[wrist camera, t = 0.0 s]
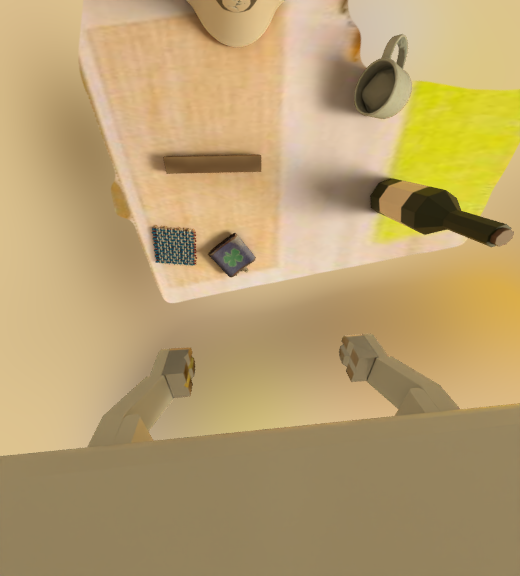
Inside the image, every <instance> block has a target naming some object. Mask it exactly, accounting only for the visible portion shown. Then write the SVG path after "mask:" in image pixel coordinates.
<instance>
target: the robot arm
mask: <svg viewBox="0 0 520 576" xmlns="http://www.w3.org/2000/svg"><path fill="white" fill-rule="evenodd" d="M186 1H187V2H189V3H190V4H191V6H192V7H193V9H194V10H195V12H196V14H197V16H198V18H199V20H200V21H201V23H202V24H203V26H204V27H205V29H206V30H207V31H208V32H209V33H210V34H211V35H212V36H213V37H214V38H215V39H216V40H218V41H219V42H221V43H223V44H225V45H227V46H231V47H244V46H247V45H250V44H252V43H253V42H255V41H256V40H257V39H259V38H260V37H261V36H262V35H263V33H264V32H265V31H266V29H267V28H268V26H269V24H270V22H271V20H272V18H273V16H274V14H275V12H276V10H277V8H278V7H279V6H280V5H281V4H282V3H283V2H284V1H285V0H186ZM342 343H343V345H342V346H340V349H339V356H340V359H341V361H342V364H343V365H345V366H346V367H347V369H346V372H347V374H348V376H349V378H350V380H351V382H356V381H367V382H368V383H369V384H370V385H371V386H373V387H374V388H375V389H376V390H377V391H378V392H379V393H380V394H382V395H383V396H384V397H385V398H386V399H387V400H389V401H390V402H391V403H392V404H393V405H394V406H395V407H397V408H398V411H397V413H396V415H395V416H392V417H381V418H371V419H362V420H352V421H342V422H333V423H322V424H313V425H303V426H294V427H284V428H274V429H265V430H255V431H245V432H235V433H226V434H215V435H205V436H197V437H187V438H177V439H167V440H157V441H153V439H152V437H151V435H150V434H149V430H150V429H151V428H152V426H153V425H154V424H155V423H156V421H157V420H158V419H159V417H160V416H161V414H162V413H163V412H164V411H165V409H166V408H167V407H168V406H169V404H170V403H171V402H172V400H173V398H179V397H188V396H191V391H192V386H193V383H192V378H193V377H194V374H195V360H194V358H193V357H192V349H191V348H171V349H161V350H160V351H159V353H158V355H157V358H156V360H155V363H154V366H153V368H152V371H151V374H150V376H149V377H146V378H145V379H143V380H142V381H141V382H140V383H139V384H138V385H137V386H136V387H135V388H133V389H132V390H131V391H130V392H129V393H128V394H127V395H126V396H125V397H124V398H122V399H121V400H120V401H119V402H118V403H117V404H116V405H115V406H114V407H112V408H111V409H110V410H109V411H108V412H107V413H106V414H105V415H104V416H103V417H102V419H101V421H100V423H99V425H98V427H97V429H96V431H95V433H94V435H93V437H92V439H91V441H90V443H89V445H88V447H87V448H78V449H68V450H58V451H48V452H38V453H28V454H18V455H8V456H0V576H520V403H518V404H509V405H498V406H489V407H479V408H470V409H460V408H459V407H458V406H457V405H456V404H455V402H454V401H453V400H452V399H451V398H450V396H449V395H448V394H447V393H446V392H445V391H444V390H443V388H442V387H441V386H440V385H439V384H437V383H435V382H434V381H432V380H430V379H429V378H427V377H425V376H424V375H422V374H420V373H418V372H417V371H415V370H414V369H412V368H410V367H408V366H407V365H405V364H403V363H402V362H400V361H398V360H397V359H395V358H393V357H389V356H388V355H387V353H386V352H385V351H384V349H383V348H382V346H381V345H380V344H379V342H378V341H377V339H376V338H375V337H374V335H372V334H362V335H361V334H360V335H349V336H344V337H343V338H342Z"/></svg>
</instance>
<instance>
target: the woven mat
mask: <svg viewBox="0 0 520 576" xmlns="http://www.w3.org/2000/svg"><path fill="white" fill-rule="evenodd" d="M152 230H155V231H153V232H152V233H153V236H156V237H154V238H153V240H154V242H155V244H153V245H154V246H155V250H154V251H156V252H155V254H156V255H155V257H156V260H157V261H156V263H163V264H164V263H165V264H166V263H167V264H168V263H169V265H170V263H171V264H172V263H173V264H174V265H175V264H177V265H178V264H180V266H181V265H183V264H184V265H186V266H187V265H188V266H189V265H191V266H193V265H195V264H196V263H195V262H196V260H195V258H196V259H197V257H195V256H196V255H195V253H196V252H195V251H196V249H195V248H196V246H195V245H196V244H195V242H196V240H195V239H196V238H195V236H196V235H195V233H196V232H195V230H194V229H193V231H192V230H190V229H189V228H188V229H187V230H186V229H185V228H183V229H182V230H181V228H178V230H177V229H176V228H173V229H172V228H170V229H168V228H167V226H165V227H164V228H163V227H162V226H161V228H158V227H157V225H155V228H152ZM163 231H164V232H163ZM163 234H164V235H163ZM165 237H166V238H165ZM173 238H174V239H173ZM183 239H184V240H183ZM186 239H187V240H186ZM165 240H166V241H165ZM186 242H187V243H186ZM186 245H187V246H186ZM156 248H157V249H156ZM192 251H193V252H192ZM167 260H168V261H167Z"/></svg>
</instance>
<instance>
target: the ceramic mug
mask: <svg viewBox="0 0 520 576" xmlns="http://www.w3.org/2000/svg"><path fill="white" fill-rule="evenodd" d="M396 44H398V46H399V55H398V59H397V63H395V62H394V61H393V60H391V55H392V53H393V51H394V48H395V46H396ZM407 52H408V42H407V38H406V36H405V35H403V34H401V35H397V36H394V37H392V38H391V39H390V41H389V42H388V43H387V46H386V48H385V50H384V53H383V56H382V58H381V59H378V60H376V61H375V62H373V63H372V64H371V65H369V66H368V67H367V68H366V70H365V71H364V72H363V74H362V75H361V77H360V79H359V81H358V83H357V85H356V89H355V94H354V103H355V106H356V108H357V110H358V112H359V113H361V114H362V115H364V116H370V117H375V118H379V119H386V118H390V117H392V116H394V115H396V114H397V113H398V112H400V111H401V110H402V108H403V107H404V106H405V105H406V103H407V101H408V99H409V97H410V94H411V90H412V82H411V79H410V76H409V74H408V73H407V72H406V71H404V70H403V68H404V64H405V61H406V57H407Z"/></svg>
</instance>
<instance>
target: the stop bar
mask: <svg viewBox="0 0 520 576" xmlns="http://www.w3.org/2000/svg"><path fill="white" fill-rule="evenodd" d="M163 159H164V163H165V168H166V173H167V174H171V173H219V172H261V155H226V156H167V157H163Z"/></svg>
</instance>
